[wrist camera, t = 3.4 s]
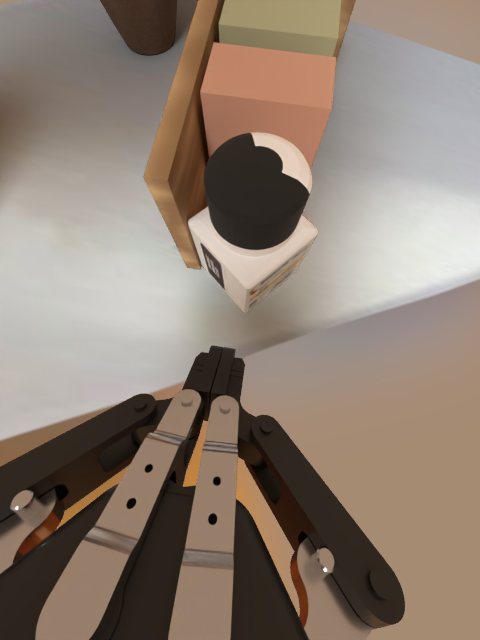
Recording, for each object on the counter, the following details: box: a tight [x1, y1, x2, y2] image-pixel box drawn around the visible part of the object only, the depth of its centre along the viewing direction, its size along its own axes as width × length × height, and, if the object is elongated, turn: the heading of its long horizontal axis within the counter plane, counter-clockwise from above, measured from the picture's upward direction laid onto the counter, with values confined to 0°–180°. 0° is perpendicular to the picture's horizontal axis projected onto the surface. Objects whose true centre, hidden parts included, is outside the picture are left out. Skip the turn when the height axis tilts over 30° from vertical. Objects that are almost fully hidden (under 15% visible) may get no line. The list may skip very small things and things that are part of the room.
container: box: [188, 132, 318, 313], centre depth 19 cm, size 8×8×13 cm
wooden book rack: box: [143, 0, 355, 269], centre depth 23 cm, size 14×30×12 cm, turn 171°
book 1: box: [219, 0, 341, 57], centre depth 23 cm, size 9×5×12 cm, turn 81°
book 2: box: [200, 42, 336, 169], centre depth 21 cm, size 9×5×12 cm, turn 81°
